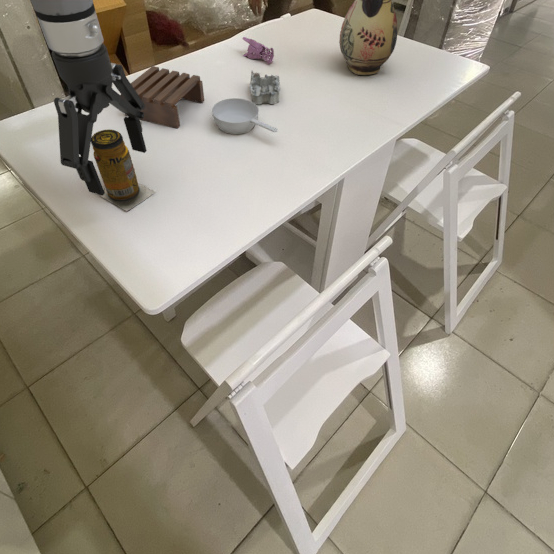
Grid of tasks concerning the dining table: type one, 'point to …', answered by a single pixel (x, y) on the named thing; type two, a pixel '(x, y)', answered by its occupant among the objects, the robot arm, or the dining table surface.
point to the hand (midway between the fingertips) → (119, 170)
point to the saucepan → (237, 116)
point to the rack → (166, 94)
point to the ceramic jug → (368, 35)
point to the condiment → (117, 170)
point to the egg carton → (264, 88)
